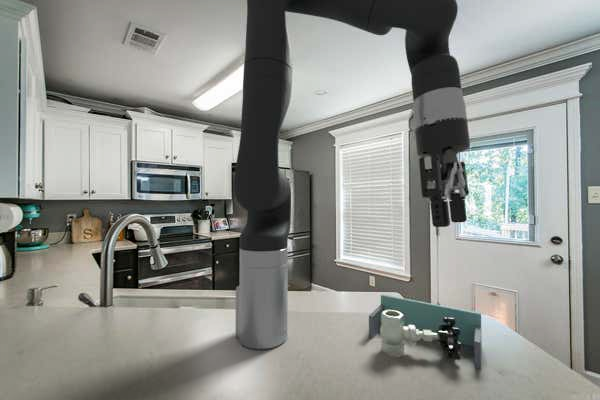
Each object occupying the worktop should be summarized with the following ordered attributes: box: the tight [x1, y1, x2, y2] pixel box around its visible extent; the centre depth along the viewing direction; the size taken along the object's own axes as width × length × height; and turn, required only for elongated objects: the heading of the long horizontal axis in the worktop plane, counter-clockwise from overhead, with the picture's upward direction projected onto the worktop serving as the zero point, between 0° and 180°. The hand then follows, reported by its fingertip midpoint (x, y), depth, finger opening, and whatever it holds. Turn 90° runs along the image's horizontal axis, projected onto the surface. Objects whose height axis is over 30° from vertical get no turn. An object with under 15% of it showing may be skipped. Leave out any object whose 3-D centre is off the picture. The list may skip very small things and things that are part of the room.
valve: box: [379, 310, 463, 361], centre depth 46 cm, size 7×7×12 cm
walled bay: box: [368, 293, 483, 369], centre depth 50 cm, size 18×8×6 cm, turn 55°
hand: (450, 224), depth 43 cm, fingers open, 8 cm apart
